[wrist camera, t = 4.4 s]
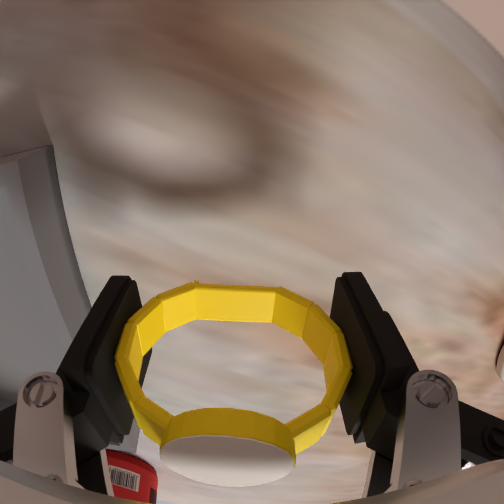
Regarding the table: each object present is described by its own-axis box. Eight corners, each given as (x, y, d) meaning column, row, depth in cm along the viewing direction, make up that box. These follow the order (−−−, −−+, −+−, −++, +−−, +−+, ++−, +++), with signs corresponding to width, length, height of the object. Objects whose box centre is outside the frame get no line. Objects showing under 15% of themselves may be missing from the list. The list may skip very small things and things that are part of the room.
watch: (157, 320, 11) (101, 462, 6) (150, 254, 10) (60, 401, 5) (321, 336, 11) (342, 489, 6) (338, 271, 10) (386, 438, 5)
